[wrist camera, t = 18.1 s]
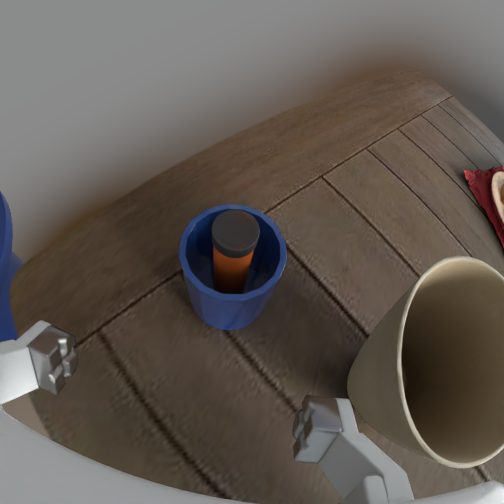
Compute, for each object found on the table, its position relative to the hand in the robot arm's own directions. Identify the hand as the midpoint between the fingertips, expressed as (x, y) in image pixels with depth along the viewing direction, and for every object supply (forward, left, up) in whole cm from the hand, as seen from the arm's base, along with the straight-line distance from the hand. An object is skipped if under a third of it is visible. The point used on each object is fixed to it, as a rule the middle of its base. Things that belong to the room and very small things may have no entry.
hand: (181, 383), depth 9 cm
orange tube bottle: (+2, +10, -19) cm, 22 cm away
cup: (+2, +10, -20) cm, 23 cm away
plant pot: (+18, 0, -20) cm, 27 cm away
